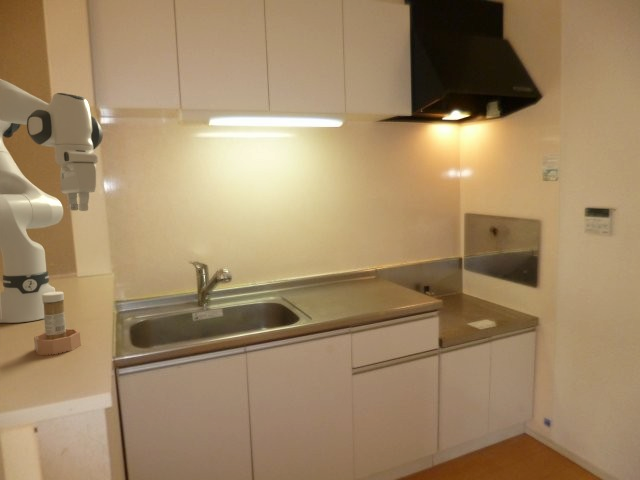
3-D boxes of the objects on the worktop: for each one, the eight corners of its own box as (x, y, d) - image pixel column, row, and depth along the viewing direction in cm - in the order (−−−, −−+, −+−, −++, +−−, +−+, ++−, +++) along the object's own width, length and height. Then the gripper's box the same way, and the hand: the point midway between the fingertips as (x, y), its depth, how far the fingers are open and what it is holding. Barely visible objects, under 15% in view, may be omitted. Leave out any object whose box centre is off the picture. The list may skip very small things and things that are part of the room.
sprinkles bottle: (64, 341, 110) (61, 290, 109) (69, 345, 107) (65, 292, 106) (43, 345, 107) (40, 293, 106) (48, 350, 104) (44, 295, 103)
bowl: (33, 348, 108) (32, 334, 107) (74, 339, 114) (73, 326, 113) (40, 357, 101) (39, 343, 100) (83, 347, 107) (82, 334, 107)
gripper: (52, 159, 117) (56, 210, 118) (71, 153, 102) (75, 211, 103) (78, 161, 121) (81, 209, 123) (99, 155, 106) (103, 210, 108)
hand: (78, 210), depth 113 cm, fingers open, 8 cm apart
